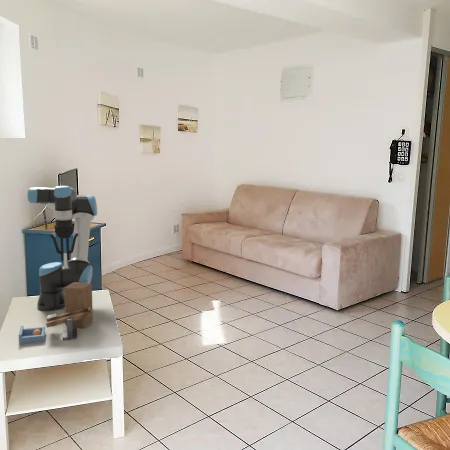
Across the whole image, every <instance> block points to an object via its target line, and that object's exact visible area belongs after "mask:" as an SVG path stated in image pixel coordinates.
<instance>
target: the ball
mask: <svg viewBox="0 0 450 450" xmlns="http://www.w3.org/2000/svg"><path fill="white" fill-rule="evenodd" d="M35 335H41V331H40V330H39V329H36V330H34V331H33V336H35Z"/></svg>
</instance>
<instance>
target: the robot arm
mask: <svg viewBox="0 0 450 450" xmlns="http://www.w3.org/2000/svg"><path fill="white" fill-rule="evenodd" d="M27 190H28V191H27V201H28V202H29V203H30V204H40V205H43V206H45V207H48V208H49V209H50V210H51V211H52V212H54V217H55V230H54V231H53V232H51V233H50V235H49V236H50V238H51V239H52V242H53V244H54V248H55V250H56V253H57V254H60V260H61V261H62V262H63V263H62V262H59V261H55V262H49V263H46V264H43V265H41V266H40V267H39V269H38V270H39V271H38V272H39V274H38V277H39V279H38V280H39V296H38V299H37V304H36V305H37V309H38V310H39V311H44V312H49V311H50V312H52V311H58V310H62V309H65V298H64V288H65V287H66V286H68V285H70V284H71V283H73V282H81V283H91V282H92V278H93V272H94V271H93V266H92V265H91V264H90V263H91V262H89V260H88V257H89V245H90V234H91V233H90V232H91V222H92V221H94V218H95V216H98V205H97V200H96V197H95V196H94V195H92V194H90V195H89V194H78V193H77V191H76V189H75V188H73V187H71V186H69V185H57V186H54V187H30V188H28V189H27ZM73 220H74V224H73ZM73 226H74V227H73ZM71 236H73V238H72V241H71V246H70V239H69V238H71ZM56 237H58V238H59V239H60V242H59V243H60V248H59V245H58V240H57V238H56ZM64 239H65V244H66V245H65V246H66V248H65V249H66V253H65V252H64ZM70 254H71V255H70Z"/></svg>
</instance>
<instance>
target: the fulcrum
mask: <svg viewBox="0 0 450 450" xmlns="http://www.w3.org/2000/svg"><path fill="white" fill-rule="evenodd" d="M67 313H69V312H67ZM62 337H63V339H62V340H63V341H69V340H77V339H78V329H77V328H76V327H73V322H72V319H67V326H66V328H63V331H62Z"/></svg>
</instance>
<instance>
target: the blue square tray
mask: <svg viewBox="0 0 450 450" xmlns="http://www.w3.org/2000/svg"><path fill="white" fill-rule="evenodd" d="M36 329H39V330H40V331H41V335H35V336H33V331H34V330H36ZM45 338H46V326H39V327H28V328H26V327H24V325H20V328H19V331H18V345H19V346H20V345H28V344H36V343H37V344H38V343H45Z"/></svg>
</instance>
